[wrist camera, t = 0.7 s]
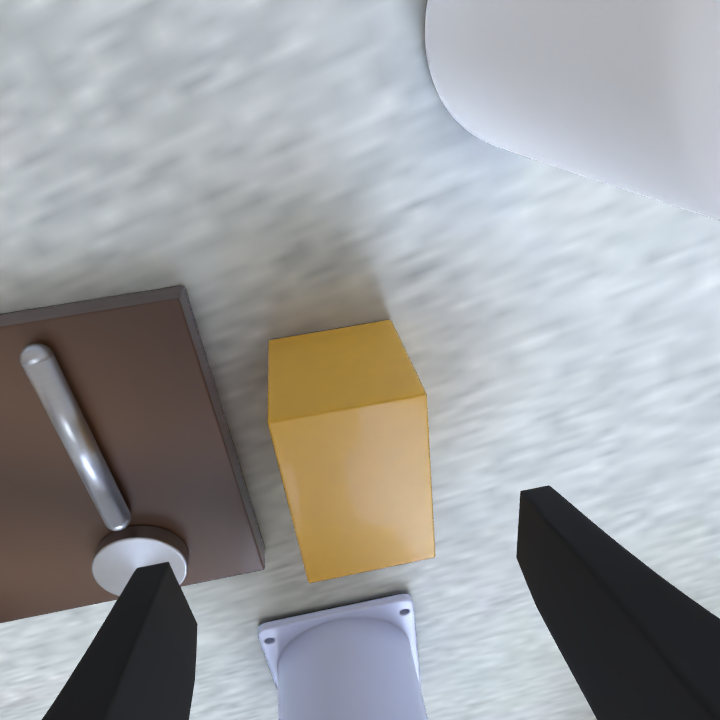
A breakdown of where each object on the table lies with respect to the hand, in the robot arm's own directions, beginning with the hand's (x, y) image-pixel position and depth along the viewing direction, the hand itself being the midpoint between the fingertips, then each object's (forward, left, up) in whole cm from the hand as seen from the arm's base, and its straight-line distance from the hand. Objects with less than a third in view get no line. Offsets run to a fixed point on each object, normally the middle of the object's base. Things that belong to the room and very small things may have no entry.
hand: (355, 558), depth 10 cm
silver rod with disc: (-4, +8, -8) cm, 13 cm away
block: (-3, -1, -10) cm, 10 cm away
